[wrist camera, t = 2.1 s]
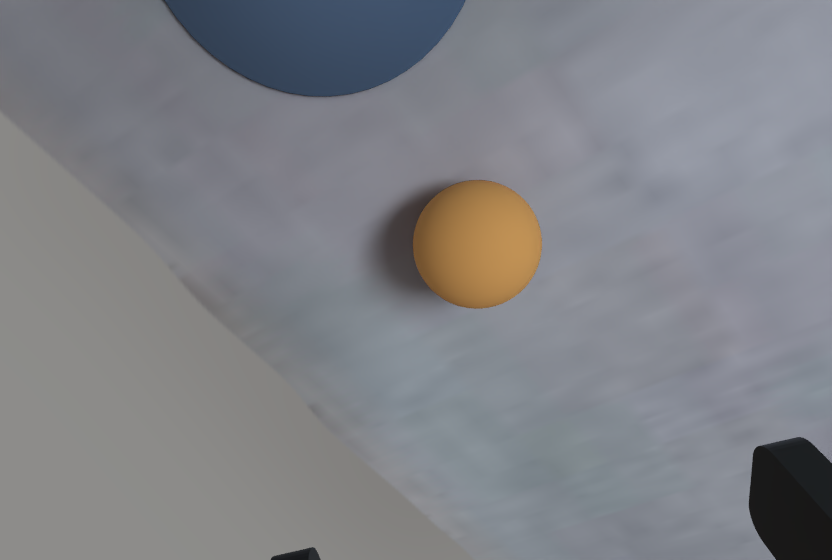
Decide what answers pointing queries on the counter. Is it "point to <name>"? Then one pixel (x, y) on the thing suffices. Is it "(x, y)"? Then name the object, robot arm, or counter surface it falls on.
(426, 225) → the ball
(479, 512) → the counter surface
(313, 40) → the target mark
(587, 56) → the counter surface
